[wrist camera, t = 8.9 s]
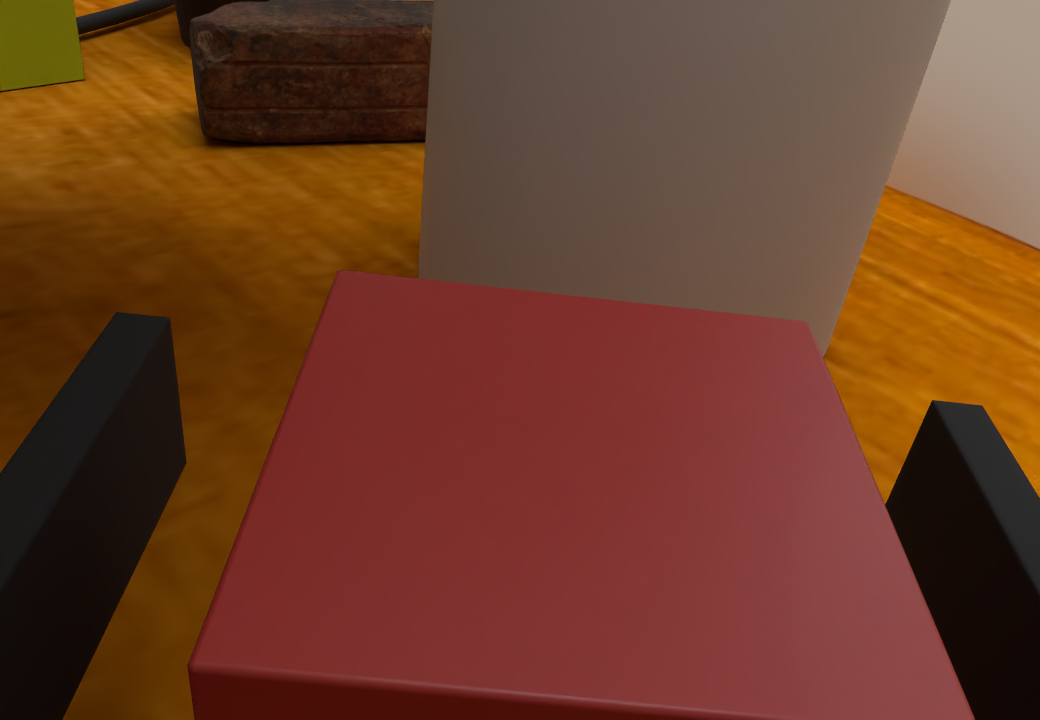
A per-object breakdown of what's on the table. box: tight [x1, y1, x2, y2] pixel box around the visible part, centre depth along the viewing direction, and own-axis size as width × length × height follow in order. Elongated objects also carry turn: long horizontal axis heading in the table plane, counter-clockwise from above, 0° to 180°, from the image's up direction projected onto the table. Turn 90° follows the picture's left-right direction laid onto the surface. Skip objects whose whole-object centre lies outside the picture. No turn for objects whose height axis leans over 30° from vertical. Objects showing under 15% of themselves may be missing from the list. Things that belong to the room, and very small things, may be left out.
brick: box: [189, 0, 434, 144], centre depth 38 cm, size 11×4×5 cm, turn 109°
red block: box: [188, 270, 975, 720], centre depth 12 cm, size 6×6×9 cm
